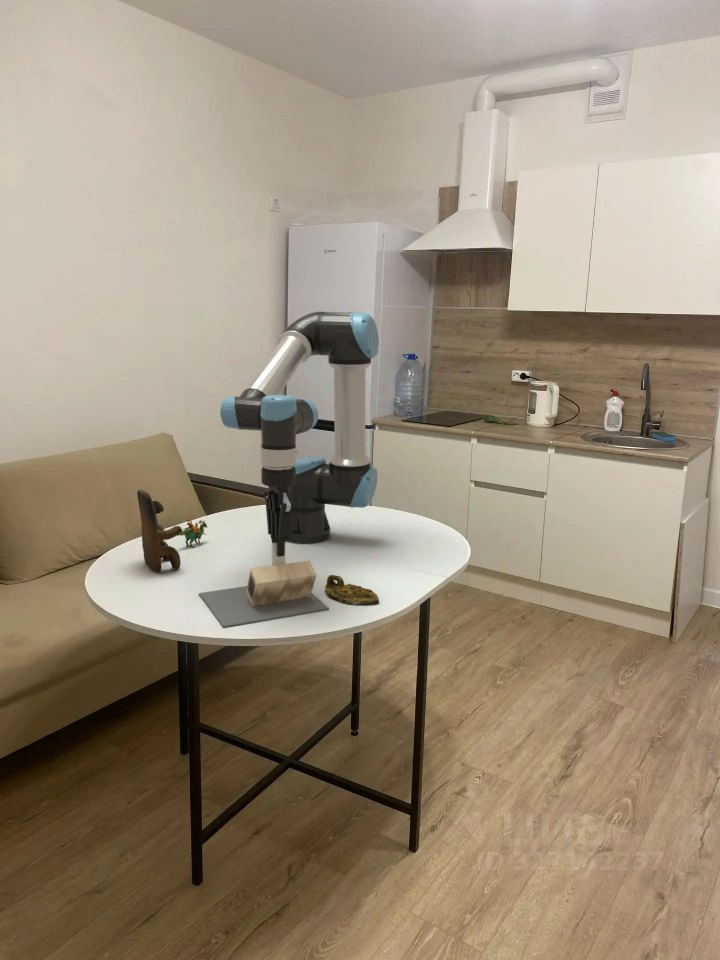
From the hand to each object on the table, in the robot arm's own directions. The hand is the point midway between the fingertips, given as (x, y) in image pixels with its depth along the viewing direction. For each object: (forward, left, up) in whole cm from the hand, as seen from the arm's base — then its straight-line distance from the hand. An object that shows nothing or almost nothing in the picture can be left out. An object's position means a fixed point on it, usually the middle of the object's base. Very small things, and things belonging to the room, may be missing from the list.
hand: (278, 568), depth 165 cm
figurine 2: (+9, -46, -8) cm, 48 cm away
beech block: (+7, +2, -3) cm, 8 cm away
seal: (-16, +5, -8) cm, 19 cm away
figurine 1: (+20, -33, -8) cm, 39 cm away
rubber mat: (+4, 0, -8) cm, 9 cm away
